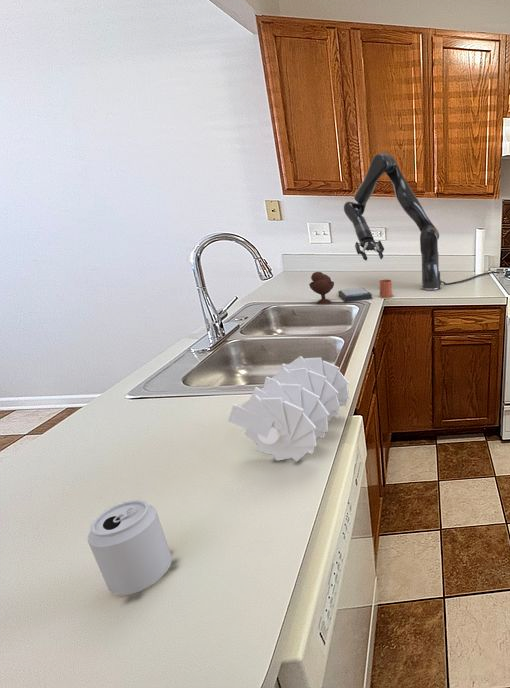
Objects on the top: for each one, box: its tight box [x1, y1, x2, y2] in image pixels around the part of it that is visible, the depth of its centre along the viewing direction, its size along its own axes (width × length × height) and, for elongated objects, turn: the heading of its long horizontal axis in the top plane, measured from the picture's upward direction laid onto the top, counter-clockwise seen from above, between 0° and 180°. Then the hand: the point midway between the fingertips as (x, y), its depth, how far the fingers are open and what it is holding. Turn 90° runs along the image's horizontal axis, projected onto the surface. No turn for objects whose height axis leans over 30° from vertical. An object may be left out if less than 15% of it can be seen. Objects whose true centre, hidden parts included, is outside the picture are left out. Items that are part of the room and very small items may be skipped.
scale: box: [337, 287, 373, 303], centre depth 199 cm, size 13×13×3 cm
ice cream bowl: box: [308, 271, 335, 305], centre depth 188 cm, size 11×11×15 cm
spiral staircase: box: [227, 355, 350, 462], centre depth 90 cm, size 18×18×25 cm
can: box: [87, 499, 173, 597], centre depth 58 cm, size 8×8×12 cm
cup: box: [378, 279, 393, 299], centre depth 202 cm, size 6×6×8 cm
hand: (374, 258), depth 206 cm, fingers open, 8 cm apart
